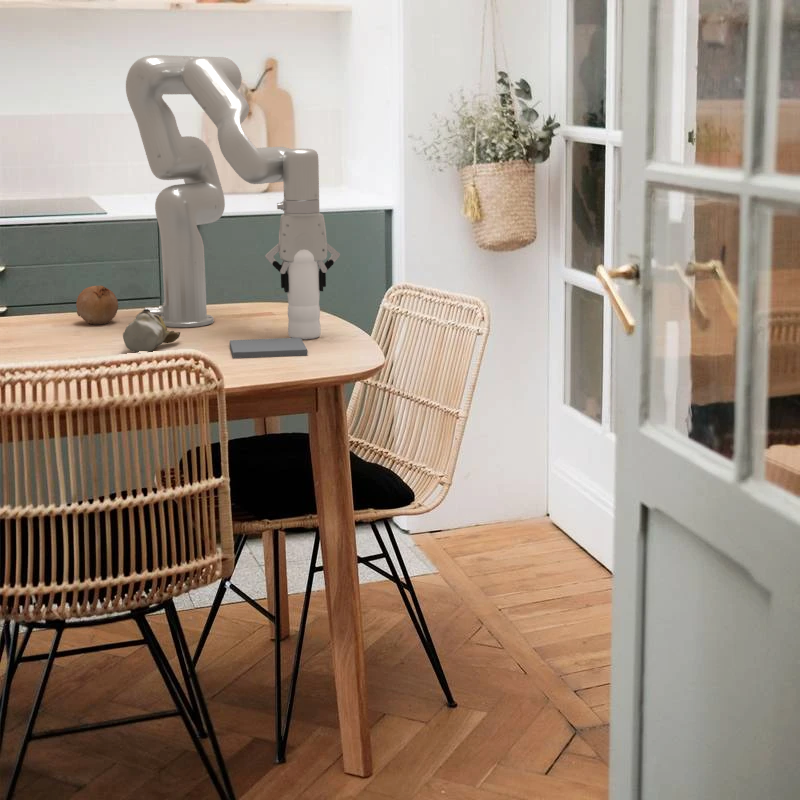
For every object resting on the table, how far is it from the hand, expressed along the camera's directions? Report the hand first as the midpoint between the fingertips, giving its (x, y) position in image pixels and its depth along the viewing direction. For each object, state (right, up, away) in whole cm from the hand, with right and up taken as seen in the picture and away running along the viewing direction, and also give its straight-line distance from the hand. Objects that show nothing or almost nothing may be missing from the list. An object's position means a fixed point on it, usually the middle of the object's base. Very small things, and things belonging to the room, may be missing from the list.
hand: (303, 290), depth 277 cm
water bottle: (0, -10, +3) cm, 10 cm away
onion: (-49, -6, +20) cm, 53 cm away
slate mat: (-7, -13, -12) cm, 19 cm away
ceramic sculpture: (-32, -13, -9) cm, 35 cm away
